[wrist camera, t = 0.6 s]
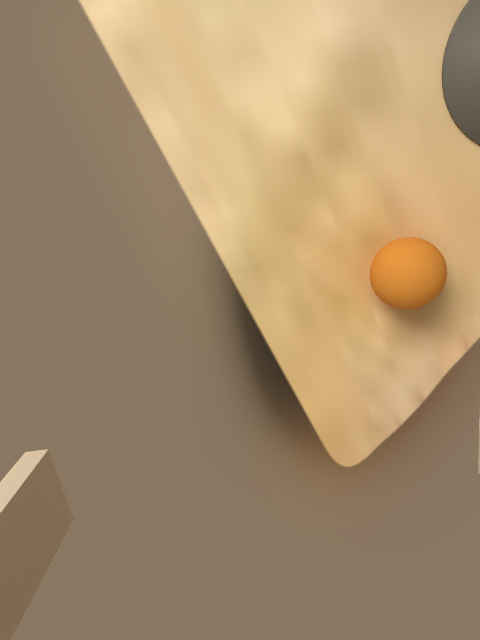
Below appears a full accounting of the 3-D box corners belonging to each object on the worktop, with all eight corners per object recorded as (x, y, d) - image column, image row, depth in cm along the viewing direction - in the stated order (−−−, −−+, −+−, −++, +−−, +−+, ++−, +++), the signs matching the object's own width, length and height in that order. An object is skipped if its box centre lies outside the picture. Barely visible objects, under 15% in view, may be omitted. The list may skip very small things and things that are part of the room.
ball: (413, 220, 33) (443, 228, 28) (439, 278, 34) (472, 296, 29) (351, 254, 34) (368, 268, 29) (378, 309, 35) (399, 331, 30)
